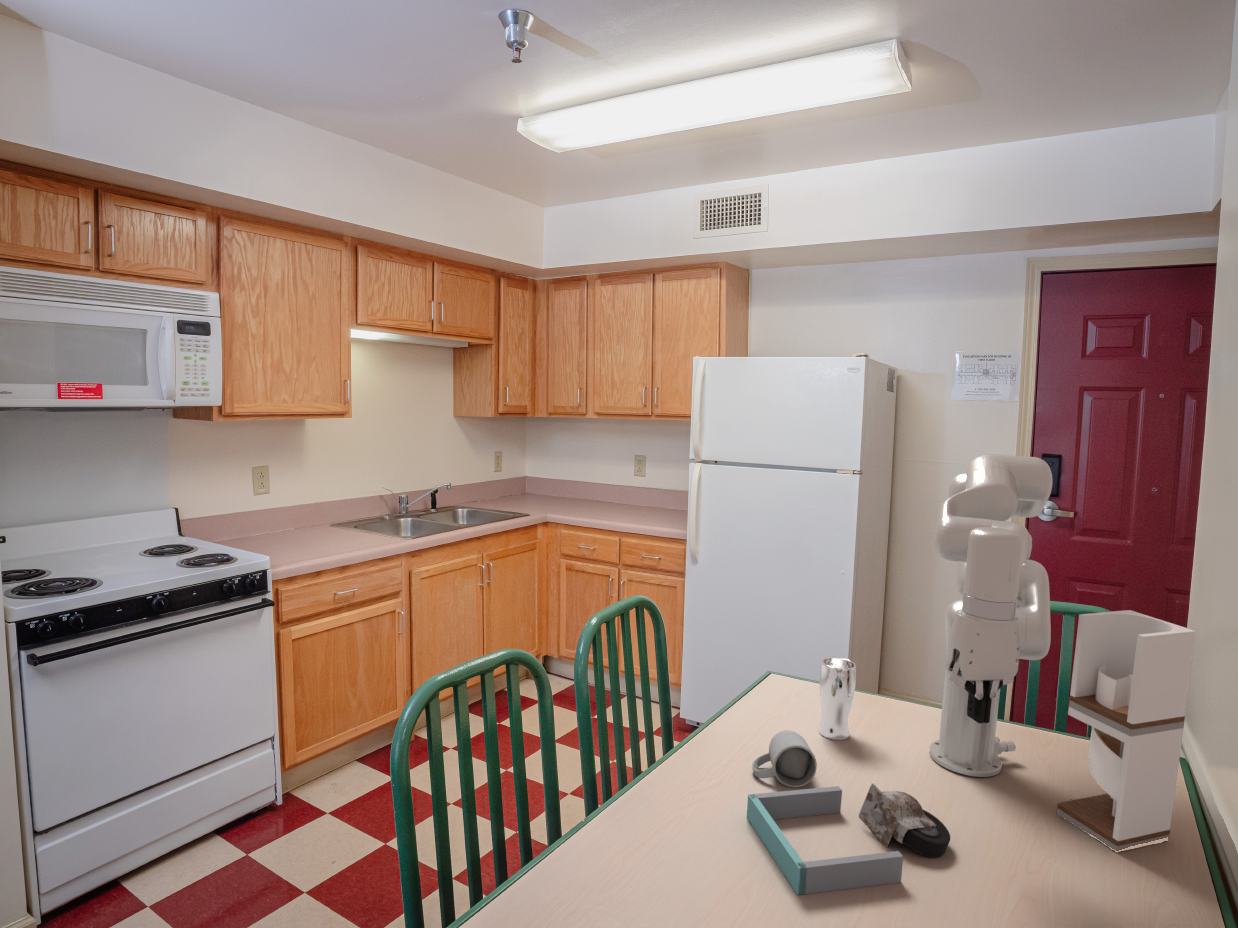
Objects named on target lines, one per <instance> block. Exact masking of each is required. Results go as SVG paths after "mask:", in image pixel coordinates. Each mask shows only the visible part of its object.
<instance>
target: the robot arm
mask: <svg viewBox="0 0 1238 928" xmlns="http://www.w3.org/2000/svg"><path fill="white" fill-rule="evenodd" d="M1052 488H1053V473H1052V469H1051V468H1050V465H1049V464H1048V463H1047V462H1046V461H1045V460H1044V459H1042V458H1040V457H1037V456H1024V455H1010V454H996V453H995V454H990V453H989V454H983V455H979V456H977V457H976V458H973V459H972V460H971V461H970V462H969V464H968V465H967V467H966V472H962V473H960V474H957V475H955V476H954V477H953V478H952V479H951V481H950V482H949V487H948V498H947V499H946V500H945V501H943V503H942V504H941V506H940V508H939V511H938V513H937V517H936V524H935V532H934V545H935V550H936V552H937V554H938V555H939V556H940V557H942V559H944V560H947V561H952V562H957V563H956V564H957V565H956V587H957V590H958V593H959V595H960V596H962V598H961V599H957V600H955V601H954V600H953V602H951V603H950V604H949V605H948V606H947V608H946V611H945V616H944V619H945V620H944V621H945V622H944V623H945V624H944V626H945V627H944V628H945V638H946V656H945V657H946V658H945V674H944V683H943V684H944V685H943V695H942V703H941V704H942V706H941V717H940V728H939V737H938V740H934V741H933V742H932V743H930V745H929V756H930V758H932V760H933V761H935V762H936V764H938V765H940V766H941V767H943V768H945V769H946V770H949V771H952V772H954V773H957V774H961V775H964V776H969V777H974V778H976V777H977V778H989V777H994V776H996V775H998V774H999V773H1001V771H1002V767H1003V763H1002V760H1001V758H1000V757H999V755H1001V754H1002V753H1003V752H1005V753H1008V752H1015V751H1016V744H1015V742H1014V741H1013V740H1003V741H1001V740H1000V738H999V737H998V736H996V734H997V732H996V731H997V722H998V716H999V715H998V713H999V703H1000V693H1001V688H1002V687H1003V686H1005V685H1008V684H1011V683H1013V682H1014V680H1015V679H1014V677H1016V676H1017V673H1018V671H1019V663H1020V659H1021V660H1027V661H1028V660H1029V661H1039V660H1043V659H1044V658H1046V656H1047V655H1048V653H1049V650H1050V647H1051V639H1052V638H1051V636H1052V635H1051V632H1052V631H1051V629H1052V627H1051V599H1050V598H1051V597H1050V595H1051V594H1050V581H1049V575H1048V572H1047V570H1046V567H1044V566H1043V565H1042V563H1040V562H1038V561H1036V560H1032V559H1029V558H1030V557H1031V553H1032V549H1033V543H1032V542H1033V538H1032V535H1031V534H1030V533H1029V531H1028V529H1027V528H1026V527H1025V525H1022V524H1020V523H1018V522H1013V521H1009V519H1010V518H1012V517H1019V518H1034V517H1035V518H1036V517H1037V516H1039V515H1040V514H1041V513H1042V511H1043V509H1044V507H1045V505H1046V504H1047V502H1048V500H1049V498H1050V496H1051V494H1052V490H1053V489H1052Z"/></svg>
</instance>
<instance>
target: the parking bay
mask: <svg viewBox="0 0 1238 928" xmlns="http://www.w3.org/2000/svg"><path fill="white" fill-rule="evenodd" d="M842 795H843V790H842V788H841V787H840V786H839V785H837V786H828V787H827V786H826V787H816V788H815V787H814V788H806V789H794V790H784V791H783V790H782V791H772V792H761V793H751V794H747V803H746V804H747V809H746V819H747V821H748V822H749V823H750V825H751V826H752V828H753V829H754V831H755V833H756V834H757V836H758V837H759V839H760V841H761V842H762V843H763V844H764V846H765V848H766V850H767V851H768V852H769V854H770V855H771V858H773V860H774V862H775V863H776V865H777V866H778V868H779V869H780V871H781V873H782V875H783V876H784V877H785V879H786V880H787V882H788V883H789V885H790V886H791V888H792V890H793V891H794V892H795V894H796V895H797V896H802V895H808V894H809V895H810V894H818V893H819V894H820V893H827V892H833V891H841V890H851V889H857V888H865V887H866V888H867V887H874V886H880V885H881V886H882V885H889V884H897V883H901V882H902V878H903V877H902V875H903V866H904V865H903V862H904V855H903V854H902V853H901V852H900V851H899V850H896V851H895V850H894V851H888V852H878V853H870V854H863V855H853V856H845V857H843V856H842V857H836V858H834V857H833V858H827V859H818V860H810V861H804V860H802V859H801V857H800V856H799V854H798V853H797V852H796V850H795V848H794V846H793V845H792V844H791V843H790V842H789V840H788V839H787V837H786V836H785V834H784V832H783V831H782V830H781V829H780V827H779V826H778V824H777V823H776V821H775V820H781V819H783V820H784V819H791V818H792V819H793V818H801V817H810V816H820V815H821V816H822V815H832V814H840V813H841V811H842V810H841V808H842V797H843V796H842Z"/></svg>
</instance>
